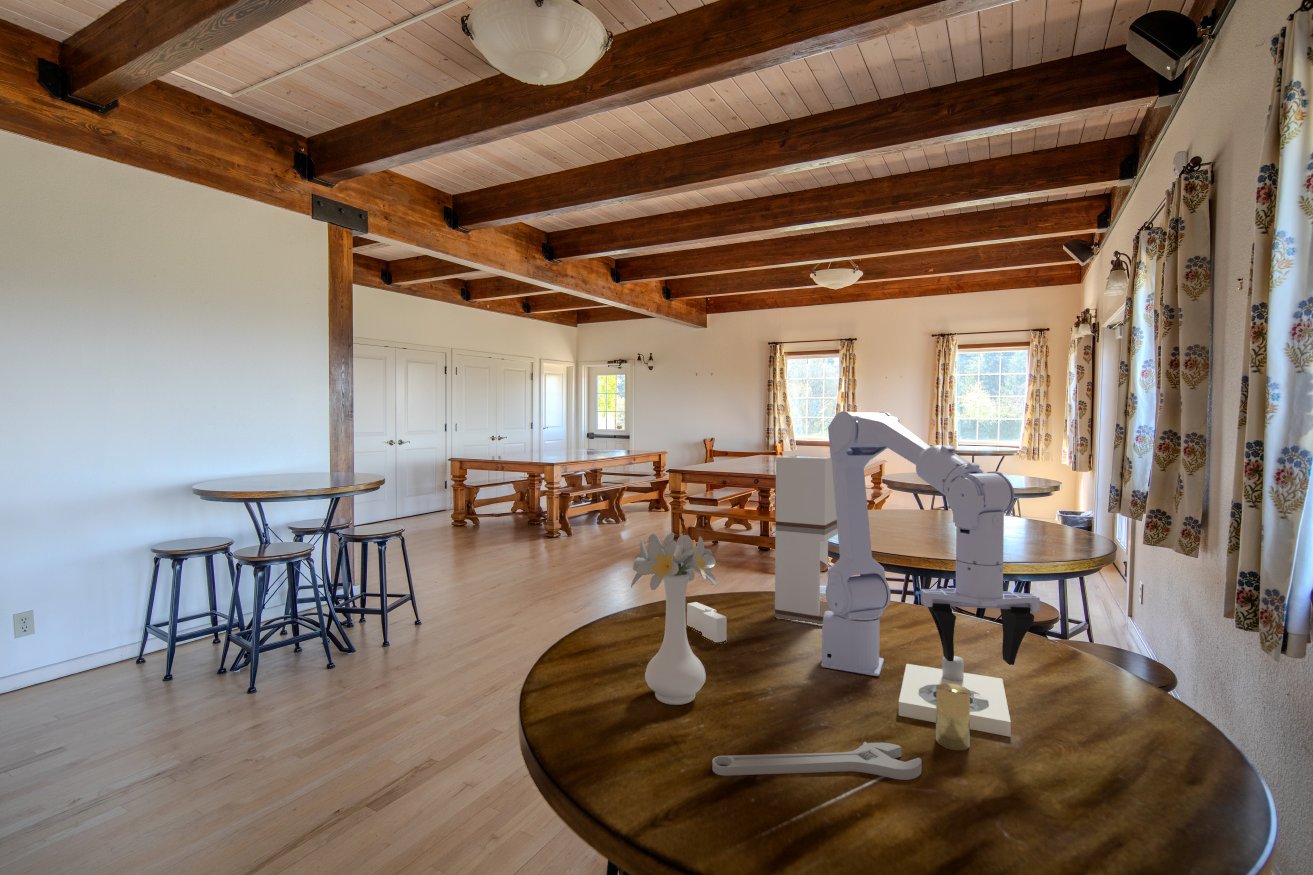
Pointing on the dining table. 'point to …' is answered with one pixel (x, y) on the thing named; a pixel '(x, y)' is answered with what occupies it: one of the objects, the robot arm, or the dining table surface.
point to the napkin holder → (707, 621)
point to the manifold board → (984, 690)
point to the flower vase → (674, 614)
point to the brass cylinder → (953, 716)
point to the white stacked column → (802, 535)
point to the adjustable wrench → (824, 762)
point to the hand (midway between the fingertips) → (978, 660)
